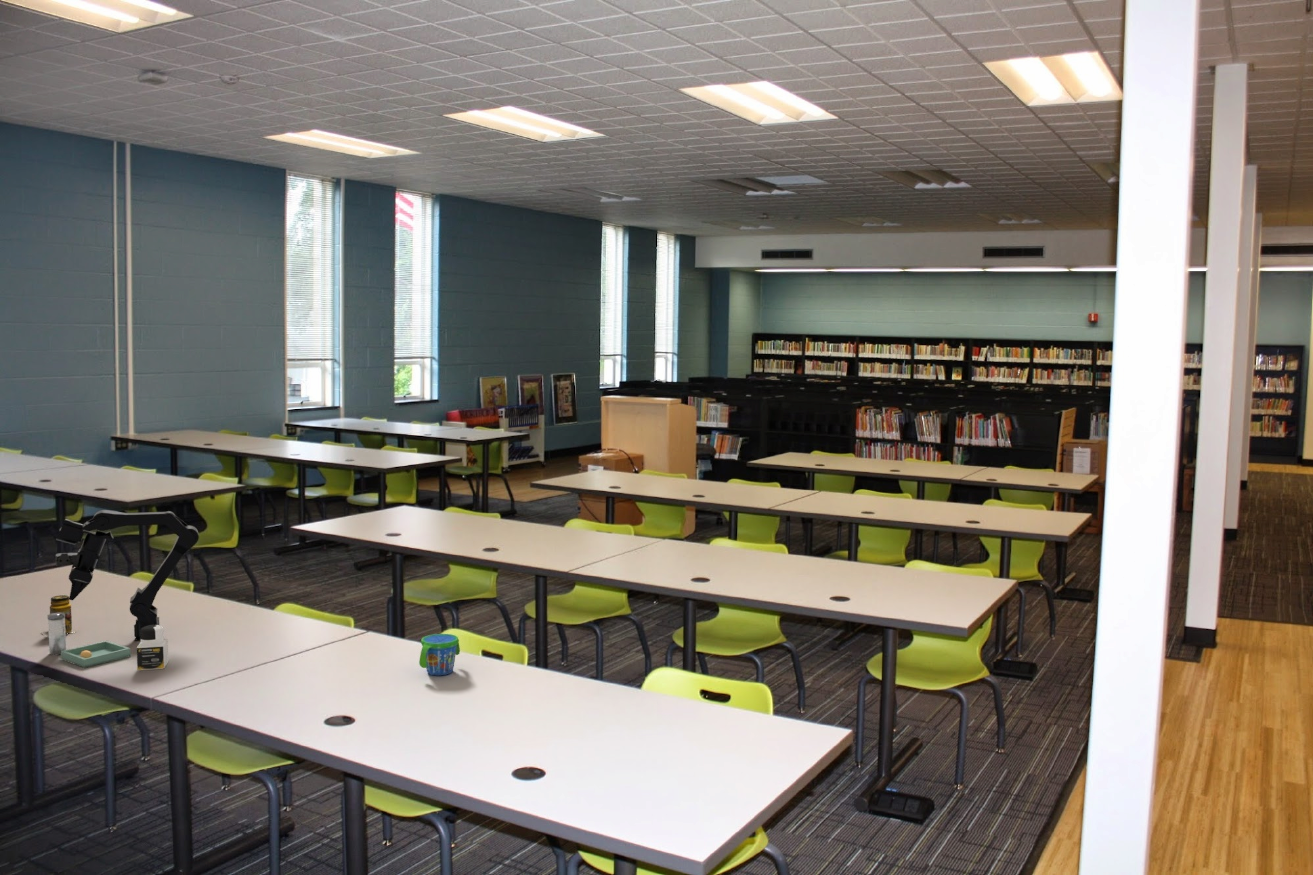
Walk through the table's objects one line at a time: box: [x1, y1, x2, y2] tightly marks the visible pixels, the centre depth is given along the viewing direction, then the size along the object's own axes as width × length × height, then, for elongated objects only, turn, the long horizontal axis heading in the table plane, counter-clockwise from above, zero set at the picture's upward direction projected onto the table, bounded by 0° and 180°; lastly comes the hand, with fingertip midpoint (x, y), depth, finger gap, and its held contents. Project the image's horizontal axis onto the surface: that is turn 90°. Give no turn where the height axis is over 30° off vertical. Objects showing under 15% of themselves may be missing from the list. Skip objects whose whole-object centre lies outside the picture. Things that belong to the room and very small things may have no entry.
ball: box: [80, 650, 92, 658], centre depth 302 cm, size 3×3×3 cm
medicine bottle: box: [136, 624, 169, 671], centre depth 299 cm, size 7×7×12 cm
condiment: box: [40, 594, 76, 638], centre depth 331 cm, size 7×8×12 cm
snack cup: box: [418, 633, 461, 676], centre depth 296 cm, size 16×10×10 cm
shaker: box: [47, 613, 67, 656], centre depth 310 cm, size 5×5×12 cm
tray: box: [60, 640, 132, 669], centre depth 306 cm, size 14×14×2 cm
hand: (71, 596), depth 317 cm, fingers open, 9 cm apart
